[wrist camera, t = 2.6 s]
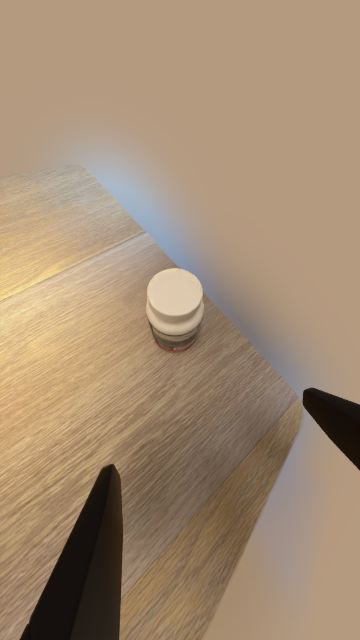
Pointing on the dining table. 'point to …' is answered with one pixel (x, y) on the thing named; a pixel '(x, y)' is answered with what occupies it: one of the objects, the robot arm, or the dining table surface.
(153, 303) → the pill bottle
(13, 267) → the dining table surface
